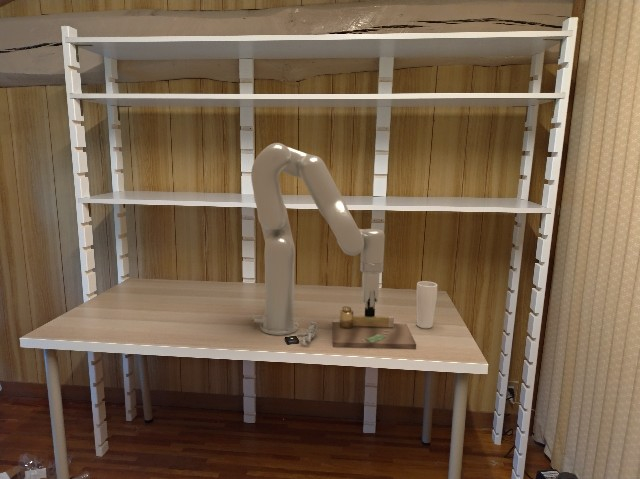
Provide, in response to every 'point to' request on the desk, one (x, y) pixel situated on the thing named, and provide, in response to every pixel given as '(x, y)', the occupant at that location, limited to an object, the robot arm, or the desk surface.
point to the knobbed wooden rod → (363, 319)
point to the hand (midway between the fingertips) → (369, 319)
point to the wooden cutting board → (373, 336)
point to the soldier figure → (309, 333)
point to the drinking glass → (426, 303)
